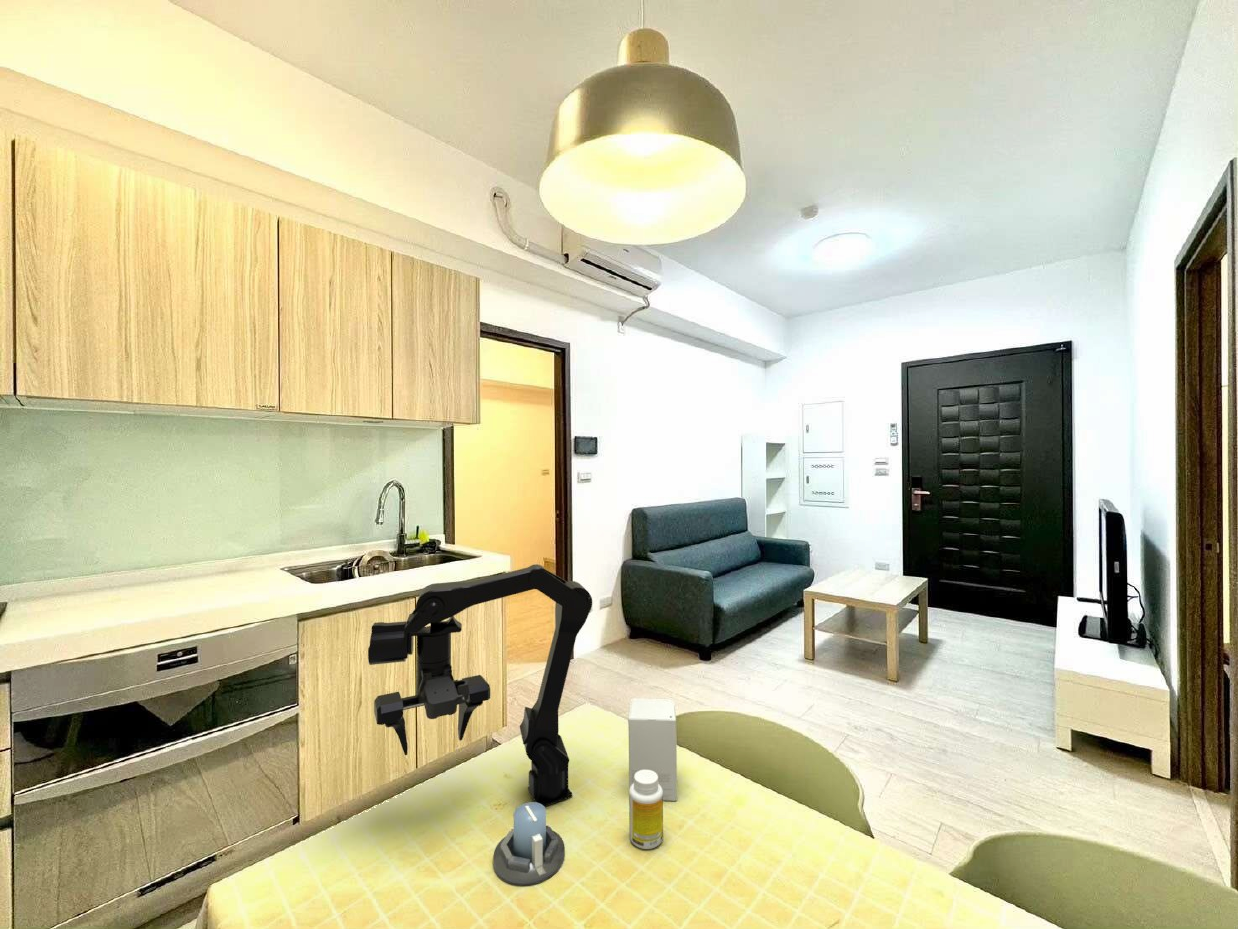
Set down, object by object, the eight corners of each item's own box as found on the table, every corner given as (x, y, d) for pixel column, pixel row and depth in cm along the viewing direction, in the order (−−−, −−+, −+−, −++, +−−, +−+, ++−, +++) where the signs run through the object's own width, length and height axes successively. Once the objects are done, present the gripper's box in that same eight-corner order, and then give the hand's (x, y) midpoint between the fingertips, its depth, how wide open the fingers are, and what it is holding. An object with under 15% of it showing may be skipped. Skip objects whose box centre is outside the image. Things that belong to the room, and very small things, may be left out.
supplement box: (676, 773, 102) (675, 698, 102) (677, 802, 93) (677, 720, 93) (631, 771, 103) (630, 696, 103) (627, 799, 94) (627, 718, 94)
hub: (548, 824, 87) (548, 810, 87) (576, 867, 78) (576, 851, 78) (484, 848, 81) (484, 833, 82) (506, 898, 72) (506, 880, 72)
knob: (509, 847, 80) (509, 807, 81) (538, 835, 83) (538, 797, 83) (522, 874, 75) (523, 831, 75) (554, 860, 78) (554, 819, 78)
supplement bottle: (668, 846, 82) (668, 782, 82) (636, 855, 80) (636, 789, 80) (654, 823, 87) (654, 763, 87) (624, 831, 85) (624, 770, 85)
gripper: (381, 685, 78) (380, 788, 78) (499, 662, 88) (499, 753, 87) (373, 662, 88) (373, 753, 87) (481, 643, 97) (481, 725, 97)
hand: (433, 746), depth 90 cm, fingers open, 9 cm apart
